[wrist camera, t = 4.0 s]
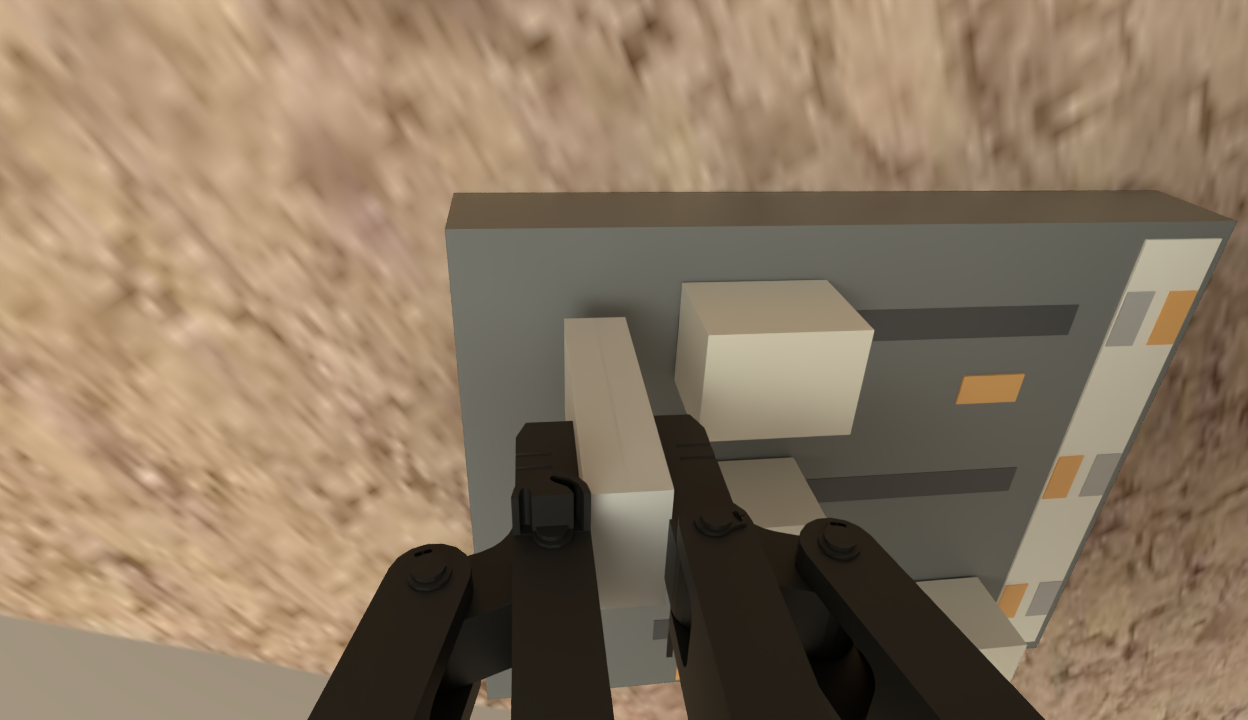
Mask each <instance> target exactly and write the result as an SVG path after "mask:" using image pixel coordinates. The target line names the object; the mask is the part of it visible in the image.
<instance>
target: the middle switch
mask: <svg viewBox="0 0 1248 720" xmlns="http://www.w3.org/2000/svg"><path fill="white" fill-rule="evenodd" d="M718 464H719V467H720V469H721V472H722V475H723V477H724V480H725V483H726V485H727V488H728V490H729V493H730V496H731V498H732V501H733V503H735V504H736V505H738V506H739V507H741V508H742V509H744V510H745V511H746V512H747V514H748V515H749V516H750V518H751V519H752V521H753V523H754V524H755V525H758V526H760V527H762V528H765V529H769V530H772V531H777V532H782V533H788V534H793V535H800V531H801V530H802V529H803V527H804V526H805V525H806V524H807V523H809V522H811V521H813V520H815V519H820V518H826V516H825V514H824V512H823V511H822V509H821V507H820V505H819V503H818V501H817V500H816V498H815V496H814V494H813V492H812V490H811V489H810V487H809V485H808V483H807V481H806V480H805V478H804V476H803V474H802V472H801V470H800V469H799V467H798V465H797V463H796V461H795V460H794V458H793V457H791V458H773V459H754V460H736V461H718Z"/></svg>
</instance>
